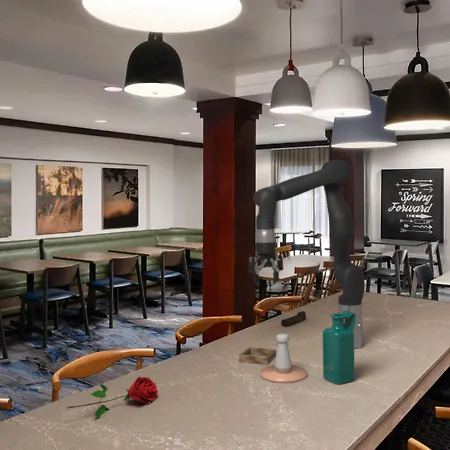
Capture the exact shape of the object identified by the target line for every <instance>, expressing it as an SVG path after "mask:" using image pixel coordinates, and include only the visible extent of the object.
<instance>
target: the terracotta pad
mask: <svg viewBox="0 0 450 450" xmlns="http://www.w3.org/2000/svg"><path fill="white" fill-rule="evenodd" d="M259 375H260V378H262V379H263V380H264V381H267V382H270V383H277V384H292V383H299V382H301V381H304V380H305V379H306V378H308V371H307V369H306V368H303V367H302V366H298V365H294V364H292V367H291V369H290V371H289V373H286V374H280V373H278V372H277V370H276V368H275V364H272V365H266V366H265V367H263V368H261V369H260V371H259Z"/></svg>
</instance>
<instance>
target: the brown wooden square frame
mask: <svg viewBox="0 0 450 450" xmlns="http://www.w3.org/2000/svg"><path fill="white" fill-rule="evenodd" d="M276 352H277V349H276V348H275V349H273V348H263V347H262V348H261V347H253V346H249V347H247V348H246V349H245V350H244V351H243V352H242V353H241V352H240V354H239V355H238V358H239V359H238V361H239V363H248V364H256V365H266V366H269V364H270V363H271V362H272V361H273V360H274V359H276Z"/></svg>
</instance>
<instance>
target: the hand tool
mask: <svg viewBox="0 0 450 450" xmlns="http://www.w3.org/2000/svg"><path fill="white" fill-rule="evenodd" d="M296 313H297V314H295V315H293V316H290V317H288V318H282V319H281V320H280V325H281V326H282V327H284V328H287V327H290V326H291V325H293V324H296V323H298V322H300V323H301V322H304V321H306V319H307V318H306V317H307V316H306V315H307V314H306V312H305V310H303V311H299V312H298V311H297V312H296Z"/></svg>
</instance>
